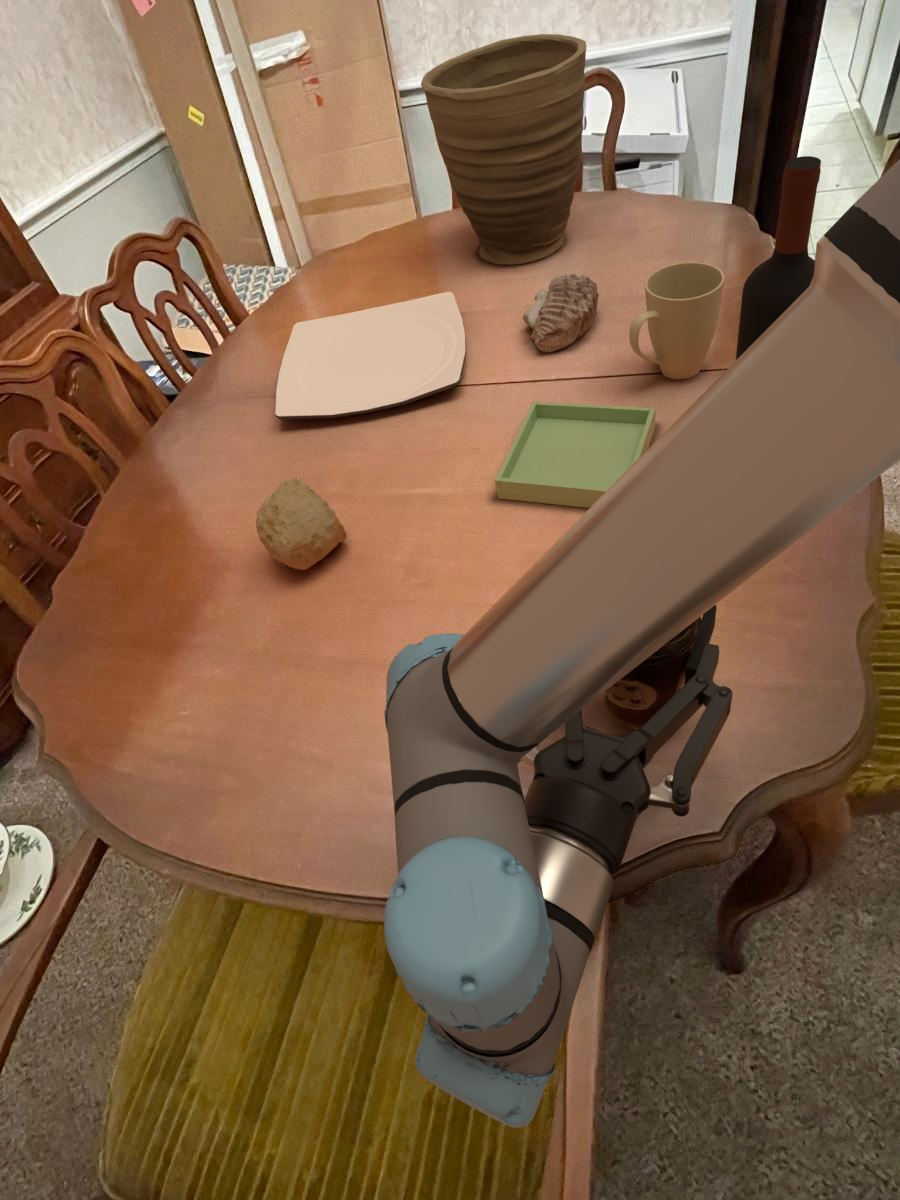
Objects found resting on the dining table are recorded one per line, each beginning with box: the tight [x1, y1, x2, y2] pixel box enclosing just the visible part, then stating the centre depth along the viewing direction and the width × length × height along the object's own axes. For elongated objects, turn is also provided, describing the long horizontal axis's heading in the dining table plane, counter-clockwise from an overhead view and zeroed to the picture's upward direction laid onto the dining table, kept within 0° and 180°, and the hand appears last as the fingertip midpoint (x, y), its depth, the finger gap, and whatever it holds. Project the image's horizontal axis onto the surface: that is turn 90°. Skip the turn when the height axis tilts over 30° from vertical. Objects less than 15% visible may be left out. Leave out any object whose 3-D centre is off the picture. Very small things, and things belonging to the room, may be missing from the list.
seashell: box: [522, 273, 600, 353], centre depth 107 cm, size 14×9×10 cm
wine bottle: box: [735, 155, 822, 361], centre depth 74 cm, size 8×8×30 cm
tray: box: [494, 401, 657, 509], centre depth 89 cm, size 15×15×3 cm
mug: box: [628, 261, 725, 380], centre depth 93 cm, size 11×10×12 cm
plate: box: [275, 291, 467, 420], centre depth 112 cm, size 29×29×3 cm
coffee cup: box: [604, 616, 702, 730], centre depth 61 cm, size 9×8×13 cm
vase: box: [420, 33, 587, 266], centre depth 120 cm, size 24×24×30 cm
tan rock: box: [255, 477, 347, 571], centre depth 85 cm, size 10×10×10 cm
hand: (658, 604), depth 63 cm, fingers closed on coffee cup, 8 cm apart
